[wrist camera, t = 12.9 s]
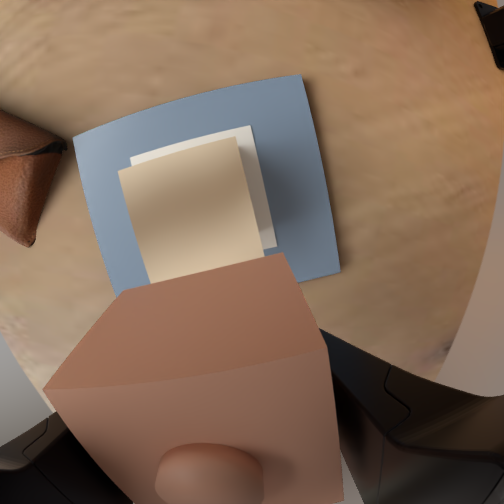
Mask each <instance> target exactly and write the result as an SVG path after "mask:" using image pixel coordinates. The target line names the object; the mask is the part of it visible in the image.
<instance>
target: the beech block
mask: <svg viewBox="0 0 504 504" xmlns="http://www.w3.org/2000/svg"><path fill="white" fill-rule="evenodd" d="M118 175H119V179H120V183H121V187H122V191H123V194H124V198H125V202H126V205H127V209H128V213H129V216H130V220H131V223H132V226H133V230H134V233H135V236H136V240H137V243H138V246H139V249H140V252H141V256H142V259H143V262H144V265H145V268H146V271H147V274H148V277H149V280H150V283H151V284H152V283H156V282H160V281H165V280H169V279H173V278H177V277H182V276H186V275H190V274H194V273H198V272H203V271H207V270H211V269H215V268H219V267H223V266H228V265H232V264H236V263H240V262H244V261H248V260H252V259H257V258H261V257H265V256H264V252H263V247H262V243H261V239H260V235H259V231H258V226H257V222H256V218H255V214H254V210H253V206H252V202H251V197H250V193H249V189H248V185H247V181H246V177H245V173H244V169H243V165H242V161H241V157H240V152H239V148H238V144H237V140H236V136H234V137H230V138H226V139H222V140H218V141H214V142H210V143H207V144H203V145H199V146H196V147H192V148H188V149H185V150H181V151H178V152H175V153H171V154H168V155H165V156H161V157H158V158H155V159H152V160H149V161H146V162H143V163H140V164H137V165H134V166H131V167H128V168H125V169H122V170H119V171H118Z"/></svg>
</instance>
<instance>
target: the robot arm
mask: <svg viewBox="0 0 504 504" xmlns="http://www.w3.org/2000/svg"><path fill="white" fill-rule="evenodd" d="M474 7H475V9H476V11H477V14H478V16H479V18H480V21H481V23H482V26H483V28H484V31H485V34H486V36H487V39H488V42H489V45H490V48H491V50H492V53H493V57H494V60H495V63H496V65H497V67H498V68H499V69H502V70H504V6H502V7H500V8H497V7H494V6H491V5H488V4H485V3H482V2H479V1H477V2H475V3H474ZM319 330H320V332H321V334H322V337H323V339H324V341H325V343H326V345H327V349H328V355H329V362H330V370H331V377H332V384H333V392H334V400H335V408H336V417H337V426H338V435H339V445H340V450H341V452H342V454H343V457H344V459H345V461H346V464H347V466H348V468H349V471H350V473H351V475H352V477H353V480H354V482H355V484H356V486H357V489H358V491H359V493H360V495H361V497H362V500H363V502H364V504H504V395H501V396H495V397H484V396H478V395H474V394H471V393H467V392H464V391H460V390H457V389H454V388H451V387H448V386H445V385H441V384H439V383H435V382H433V381H430V380H427V379H424V378H421V377H419V376H416V375H414V374H412V373H409V372H407V371H405V370H403V369H400V368H398V367H396V366H394V365H391V364H390V363H388V362H386V361H384V360H382V359H380V358H378V357H376V356H374V355H372V354H370V353H367V352H365V351H363V350H361V349H359V348H357V347H355V346H353V345H351V344H349V343H347V342H345V341H344V340H342V339H340V338H338V337H336V336H334V335H332V334H330V333H328V332H326V331H324V330H322V329H320V328H319ZM0 504H133V501H132V500H131V499H130V498H129V497H128V496H127V495H126V494H125V493H124V492H123V491H122V490H121V489H120V488H119V487H118V486H117V485H116V484H115V483H114V482H113V481H112V480H111V479H110V478H109V477H108V476H107V474H106V473H105V472H104V471H103V470H102V469H101V468H100V467H99V465H98V464H97V463H96V462H95V461H94V460H93V458H92V457H91V456H90V455H89V454H88V452H87V451H86V450H85V449H84V447H83V446H82V445H81V444H80V442H79V441H78V440H77V439H76V437H75V436H74V435H73V433H72V432H71V431H70V429H69V428H68V427H67V425H66V424H65V422H64V421H63V420H62V418H61V417H60V415H59V414H58V413H57V411H56V412H55V413H53V414H52V415H50V416H49V418H46V419H44V420H43V421H41V422H40V423H39V424H37V425H35V426H34V427H33V428H31V429H29V430H28V431H26V432H25V433H23V434H21V435H20V436H18V437H16V438H15V439H13V440H11V441H10V442H8V443H6V444H4V445H2V446H1V447H0Z"/></svg>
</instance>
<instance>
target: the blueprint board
mask: <svg viewBox="0 0 504 504" xmlns="http://www.w3.org/2000/svg"><path fill="white" fill-rule="evenodd" d="M234 136H236V140H237V144H238V148H239V152H240V157H241V161H242V165H243V169H244V173H245V177H246V181H247V185H248V189H249V193H250V197H251V202H252V206H253V210H254V214H255V218H256V222H257V226H258V231H259V235H260V239H261V243H262V247H263V252H264V256H269V255H273V254H277V253H281V252H283V253H284V255H285V258H286V260H287V262H288V264H289V266H290V268H291V270H292V272H293V274H294V276H295V279H296V281H297V283H298V282H303V281H307V280H311V279H315V278H319V277H323V276H327V275H331V274H335V273H339V272H341V271H340V264H339V257H338V250H337V244H336V237H335V231H334V225H333V219H332V213H331V207H330V202H329V196H328V191H327V185H326V180H325V175H324V170H323V165H322V160H321V156H320V151H319V146H318V142H317V137H316V133H315V128H314V124H313V120H312V116H311V112H310V108H309V103H308V99H307V96H306V92H305V88H304V84H303V80H302V77H301V74H299V75H292V76H285V77H278V78H272V79H266V80H261V81H255V82H250V83H245V84H240V85H235V86H230V87H226V88H221V89H217V90H213V91H209V92H204V93H201V94H197V95H193V96H189V97H185V98H182V99H178V100H175V101H171V102H168V103H165V104H161V105H158V106H155V107H152V108H149V109H146V110H143V111H140V112H137V113H134V114H131V115H128V116H125V117H122V118H120V119H117V120H114V121H112V122H109V123H106V124H104V125H101V126H99V127H96V128H94V129H91V130H89V131H87V132H84V133H82V134H79V135H77V136H75V137H73V143H74V148H75V153H76V158H77V163H78V168H79V172H80V177H81V181H82V186H83V190H84V194H85V198H86V202H87V206H88V209H89V213H90V217H91V221H92V224H93V228H94V231H95V234H96V238H97V241H98V244H99V248H100V251H101V254H102V257H103V260H104V263H105V266H106V269H107V272H108V275H109V278H110V281H111V284H112V287H113V289H114V292H115V295H116V298H117V297H118V296H119V295H120V293H121V292H122V291H123V290H126V289H131V288H135V287H139V286H143V285H148V284H151V283H150V280H149V277H148V274H147V271H146V268H145V265H144V262H143V259H142V256H141V252H140V249H139V246H138V243H137V240H136V236H135V233H134V230H133V226H132V223H131V220H130V216H129V213H128V209H127V205H126V202H125V198H124V194H123V191H122V187H121V183H120V179H119V175H118V171H119V170H122V169H125V168H128V167H131V166H134V165H137V164H140V163H143V162H146V161H149V160H152V159H155V158H158V157H161V156H165V155H168V154H171V153H175V152H178V151H181V150H185V149H188V148H192V147H196V146H199V145H203V144H207V143H210V142H214V141H218V140H222V139H226V138H230V137H234Z"/></svg>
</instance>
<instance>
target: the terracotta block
mask: <svg viewBox="0 0 504 504" xmlns="http://www.w3.org/2000/svg"><path fill="white" fill-rule="evenodd" d="M43 391H44V393H45V394H46V396H47V398H48V399H49V401H50V402H51V404H52V405H53V407H54V408H55V410H56V411H57V413H58V414H59V415H60V417H61V418H62V420H63V421H64V422H65V424H66V425H67V427H68V428H69V429H70V431H71V432H72V433H73V435H74V436H75V437H76V439H77V440H78V441H79V442H80V444H81V445H82V446H83V447H84V449H85V450H86V451H87V452H88V454H89V455H90V456H91V457H92V458H93V460H94V461H95V462H96V463H97V464H98V465H99V467H100V468H101V469H102V470H103V471H104V472H105V473H106V474H107V476H108V477H109V478H110V479H111V480H112V481H113V482H114V483H115V484H116V485H117V486H118V487H119V488H120V489H121V490H122V491H123V492H124V493H125V494H126V495H127V496H128V497H129V498H130V499H131V500H132V501H133V502H134V503H135V504H333V503H337V502H341V501H344V492H343V479H342V467H341V455H340V445H339V435H338V426H337V417H336V408H335V400H334V392H333V384H332V377H331V370H330V362H329V355H328V349H327V345H326V343H325V341H324V339H323V337H322V334H321V332H320V330H319V328H318V326H317V324H316V321H315V319H314V317H313V315H312V313H311V311H310V308H309V306H308V304H307V302H306V300H305V298H304V296H303V293H302V291H301V289H300V287H299V285H298V283H297V281H296V279H295V276H294V274H293V272H292V270H291V268H290V266H289V264H288V262H287V260H286V258H285V255H284V253H283V252H281V253H277V254H273V255H269V256H265V257H261V258H257V259H252V260H248V261H244V262H240V263H236V264H232V265H228V266H223V267H219V268H215V269H211V270H207V271H203V272H198V273H194V274H190V275H186V276H182V277H177V278H173V279H169V280H165V281H160V282H156V283H152V284H148V285H143V286H139V287H135V288H131V289H126V290H123V291H122V292H121V293H120V295H119V296H118V297H117V298H116V299H115V300H114V301H113V303H112V304H111V305H110V306H109V307H108V308H107V310H106V311H105V312H104V313H103V314H102V316H101V317H100V318H99V319H98V320H97V321H96V323H95V324H94V325H93V326H92V327H91V329H90V330H89V331H88V332H87V334H86V335H85V336H84V337H83V338H82V340H81V341H80V342H79V343H78V345H77V346H76V347H75V348H74V350H73V351H72V352H71V353H70V355H69V356H68V357H67V358H66V360H65V361H64V362H63V363H62V365H61V366H60V367H59V369H58V370H57V371H56V372H55V374H54V375H53V376H52V378H51V379H50V380H49V382H48V383H47V384H46V386H45V387H44V388H43Z"/></svg>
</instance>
